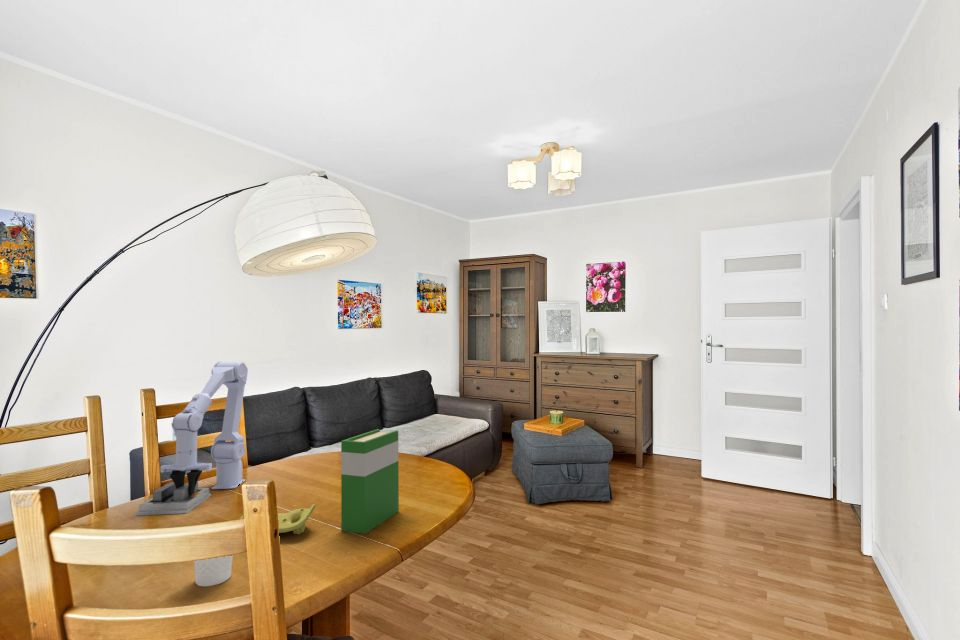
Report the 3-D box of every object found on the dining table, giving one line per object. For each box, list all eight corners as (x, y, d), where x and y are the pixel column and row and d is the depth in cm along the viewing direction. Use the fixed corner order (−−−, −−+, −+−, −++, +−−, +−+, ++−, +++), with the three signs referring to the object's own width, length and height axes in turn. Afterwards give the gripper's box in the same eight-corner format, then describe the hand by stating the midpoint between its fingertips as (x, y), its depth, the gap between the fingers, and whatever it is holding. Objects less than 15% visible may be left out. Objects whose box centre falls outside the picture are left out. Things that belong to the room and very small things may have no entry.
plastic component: (231, 529, 126) (253, 500, 135) (241, 549, 129) (262, 520, 138) (299, 528, 122) (317, 499, 131) (308, 549, 125) (325, 519, 134)
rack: (166, 498, 159) (166, 479, 159) (210, 496, 160) (211, 477, 160) (136, 515, 143) (137, 495, 143) (186, 513, 144) (186, 493, 144)
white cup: (194, 592, 99) (195, 542, 99) (190, 577, 105) (191, 530, 105) (236, 580, 103) (237, 533, 104) (230, 567, 110) (231, 522, 110)
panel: (189, 496, 157) (190, 481, 157) (197, 496, 157) (198, 480, 157) (173, 507, 147) (173, 490, 147) (182, 506, 147) (182, 490, 147)
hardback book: (377, 508, 147) (377, 429, 148) (398, 511, 144) (398, 430, 145) (341, 530, 130) (341, 440, 131) (364, 533, 127) (364, 442, 128)
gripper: (155, 454, 148) (154, 499, 147) (204, 452, 149) (204, 497, 149) (167, 449, 155) (166, 492, 154) (215, 447, 156) (214, 490, 156)
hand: (186, 494), depth 152 cm, fingers closed on panel, 2 cm apart
